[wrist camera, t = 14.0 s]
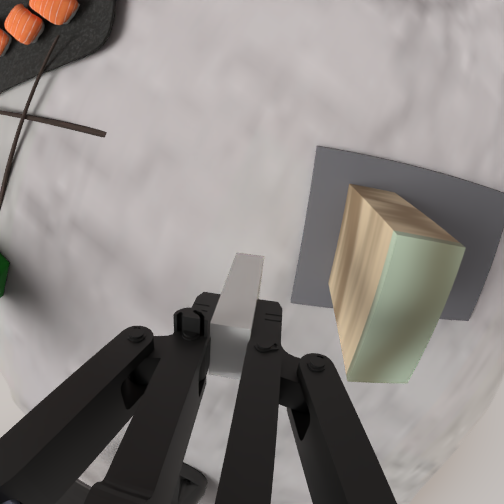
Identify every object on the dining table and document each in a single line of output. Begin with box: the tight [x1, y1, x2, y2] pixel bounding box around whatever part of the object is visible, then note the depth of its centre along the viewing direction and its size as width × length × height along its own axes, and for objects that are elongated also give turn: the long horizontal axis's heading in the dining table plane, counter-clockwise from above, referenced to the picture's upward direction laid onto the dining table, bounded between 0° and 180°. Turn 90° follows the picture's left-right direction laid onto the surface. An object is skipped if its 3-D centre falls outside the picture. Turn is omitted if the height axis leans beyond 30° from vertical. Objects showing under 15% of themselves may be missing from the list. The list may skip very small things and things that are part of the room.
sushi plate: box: [0, 0, 116, 209], centre depth 22 cm, size 29×30×4 cm
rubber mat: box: [291, 146, 504, 321], centre depth 26 cm, size 20×14×1 cm
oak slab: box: [328, 184, 466, 383], centre depth 20 cm, size 4×9×12 cm, turn 174°
